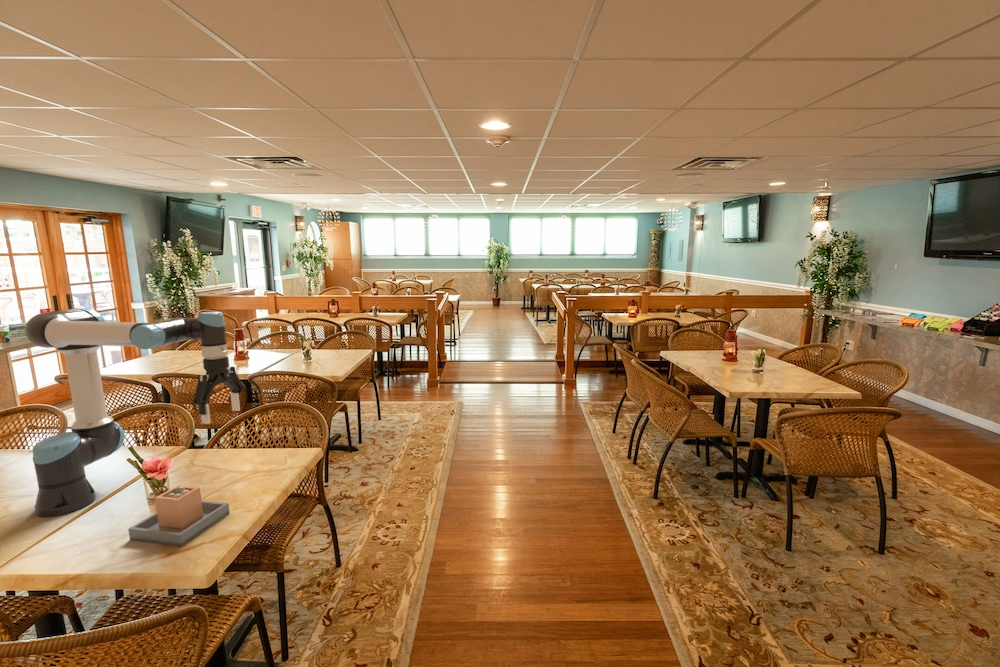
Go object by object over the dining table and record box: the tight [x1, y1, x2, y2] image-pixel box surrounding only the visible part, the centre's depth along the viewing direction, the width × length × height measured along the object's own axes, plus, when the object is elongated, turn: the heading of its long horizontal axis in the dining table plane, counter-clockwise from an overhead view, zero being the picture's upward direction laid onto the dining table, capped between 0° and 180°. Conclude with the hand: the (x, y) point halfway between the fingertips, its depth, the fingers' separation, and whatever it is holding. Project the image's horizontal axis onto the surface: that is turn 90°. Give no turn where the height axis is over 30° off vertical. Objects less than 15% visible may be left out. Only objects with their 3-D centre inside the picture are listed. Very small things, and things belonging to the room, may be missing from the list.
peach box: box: [154, 484, 203, 531], centre depth 145 cm, size 8×8×11 cm
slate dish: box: [128, 499, 230, 547], centre depth 145 cm, size 18×18×4 cm
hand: (221, 416), depth 166 cm, fingers open, 13 cm apart
